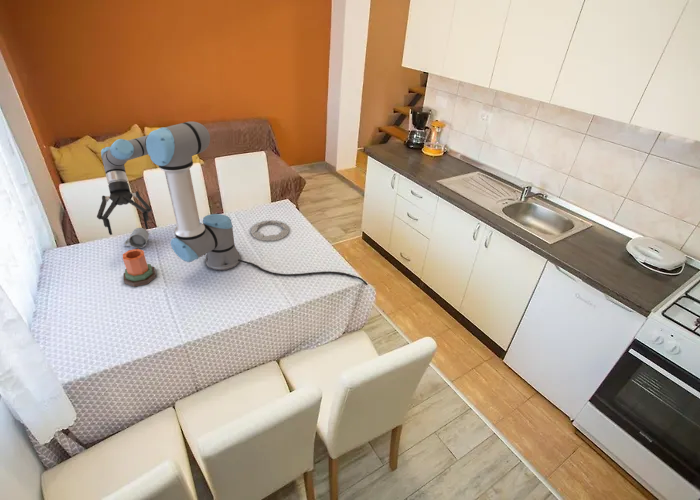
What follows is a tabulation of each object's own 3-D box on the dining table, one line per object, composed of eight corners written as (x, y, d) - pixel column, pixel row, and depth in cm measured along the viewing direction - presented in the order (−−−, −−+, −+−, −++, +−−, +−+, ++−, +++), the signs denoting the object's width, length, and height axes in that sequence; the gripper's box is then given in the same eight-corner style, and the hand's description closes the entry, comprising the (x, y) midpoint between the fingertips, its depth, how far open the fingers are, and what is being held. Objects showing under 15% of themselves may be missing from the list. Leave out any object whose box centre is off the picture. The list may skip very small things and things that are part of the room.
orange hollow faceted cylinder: (152, 266, 163) (148, 251, 158) (138, 277, 156) (133, 261, 152) (137, 262, 164) (133, 247, 160) (123, 272, 158) (118, 257, 154)
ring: (292, 224, 207) (292, 221, 206) (283, 243, 191) (283, 240, 190) (258, 219, 208) (258, 216, 207) (246, 238, 192) (245, 235, 191)
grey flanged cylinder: (151, 238, 187) (147, 225, 182) (148, 247, 180) (144, 234, 176) (127, 240, 184) (122, 227, 180) (123, 250, 178) (118, 236, 173)
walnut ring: (162, 272, 166) (161, 269, 165) (141, 289, 157) (140, 285, 155) (139, 265, 169) (138, 262, 168) (118, 281, 159) (116, 278, 158)
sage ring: (157, 269, 164) (156, 266, 163) (140, 283, 156) (138, 279, 155) (138, 264, 167) (137, 260, 165) (120, 277, 159) (119, 273, 158)
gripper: (151, 182, 170) (161, 227, 169) (86, 190, 160) (96, 238, 158) (149, 176, 163) (160, 223, 162) (81, 184, 153) (92, 234, 151)
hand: (129, 231), depth 160 cm, fingers open, 13 cm apart
